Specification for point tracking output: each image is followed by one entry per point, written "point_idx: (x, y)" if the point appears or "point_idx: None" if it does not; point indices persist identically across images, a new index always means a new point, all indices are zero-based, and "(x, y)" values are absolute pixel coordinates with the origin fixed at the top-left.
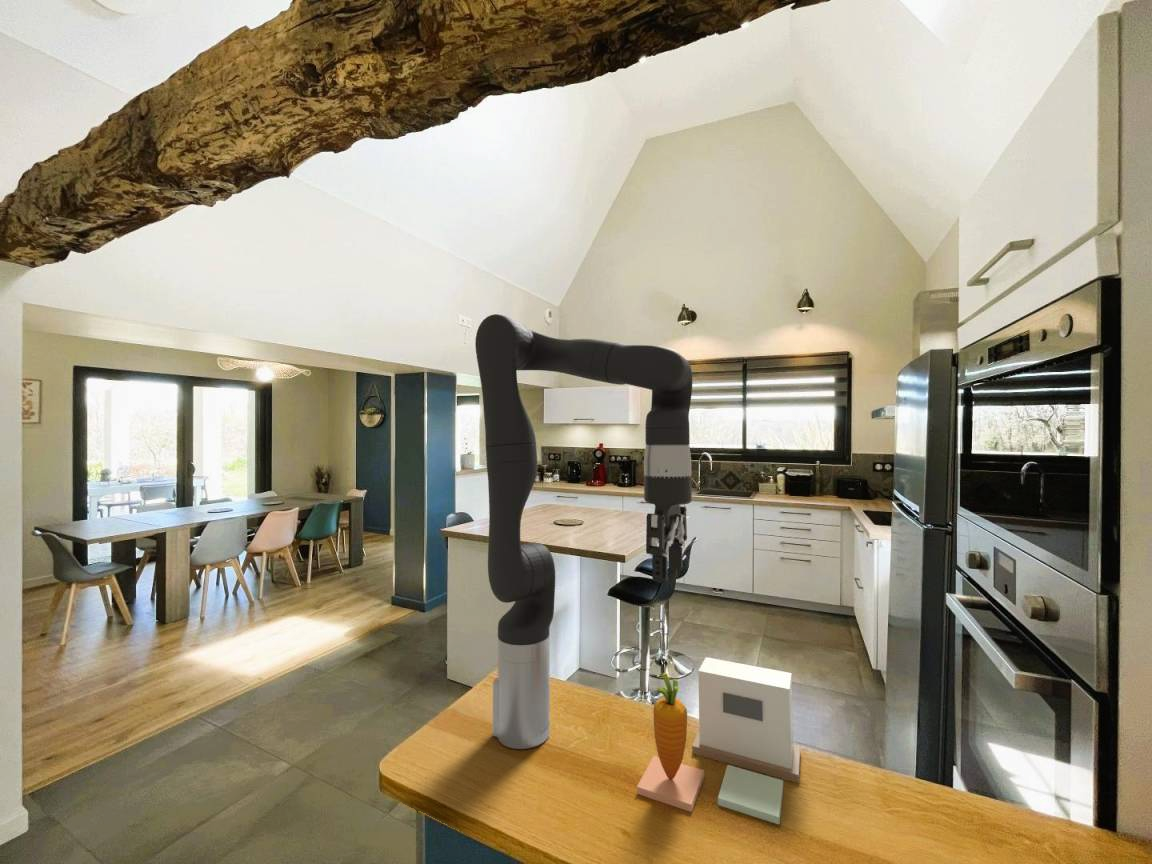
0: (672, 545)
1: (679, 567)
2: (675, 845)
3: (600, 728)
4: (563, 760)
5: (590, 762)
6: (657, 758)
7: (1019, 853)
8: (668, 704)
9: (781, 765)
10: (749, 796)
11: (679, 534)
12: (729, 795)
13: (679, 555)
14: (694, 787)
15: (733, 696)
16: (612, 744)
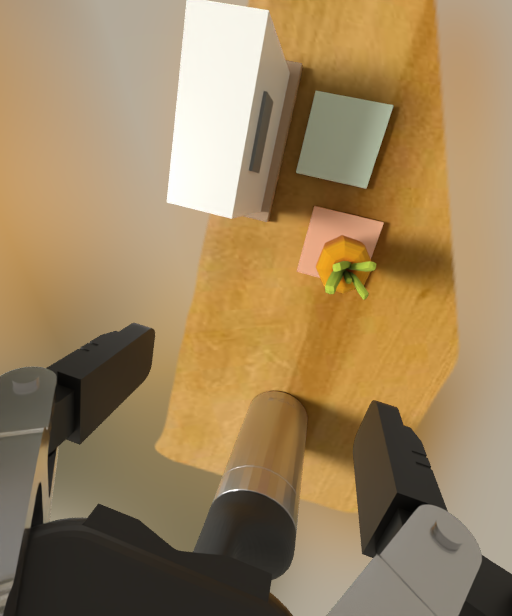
0: (66, 429)
1: (148, 337)
2: (438, 240)
3: (244, 337)
4: (315, 369)
5: (312, 341)
6: (301, 266)
7: None
8: (350, 271)
9: (286, 88)
10: (358, 144)
11: (40, 473)
12: (360, 172)
13: (112, 364)
14: (350, 218)
15: (255, 150)
16: (273, 320)
